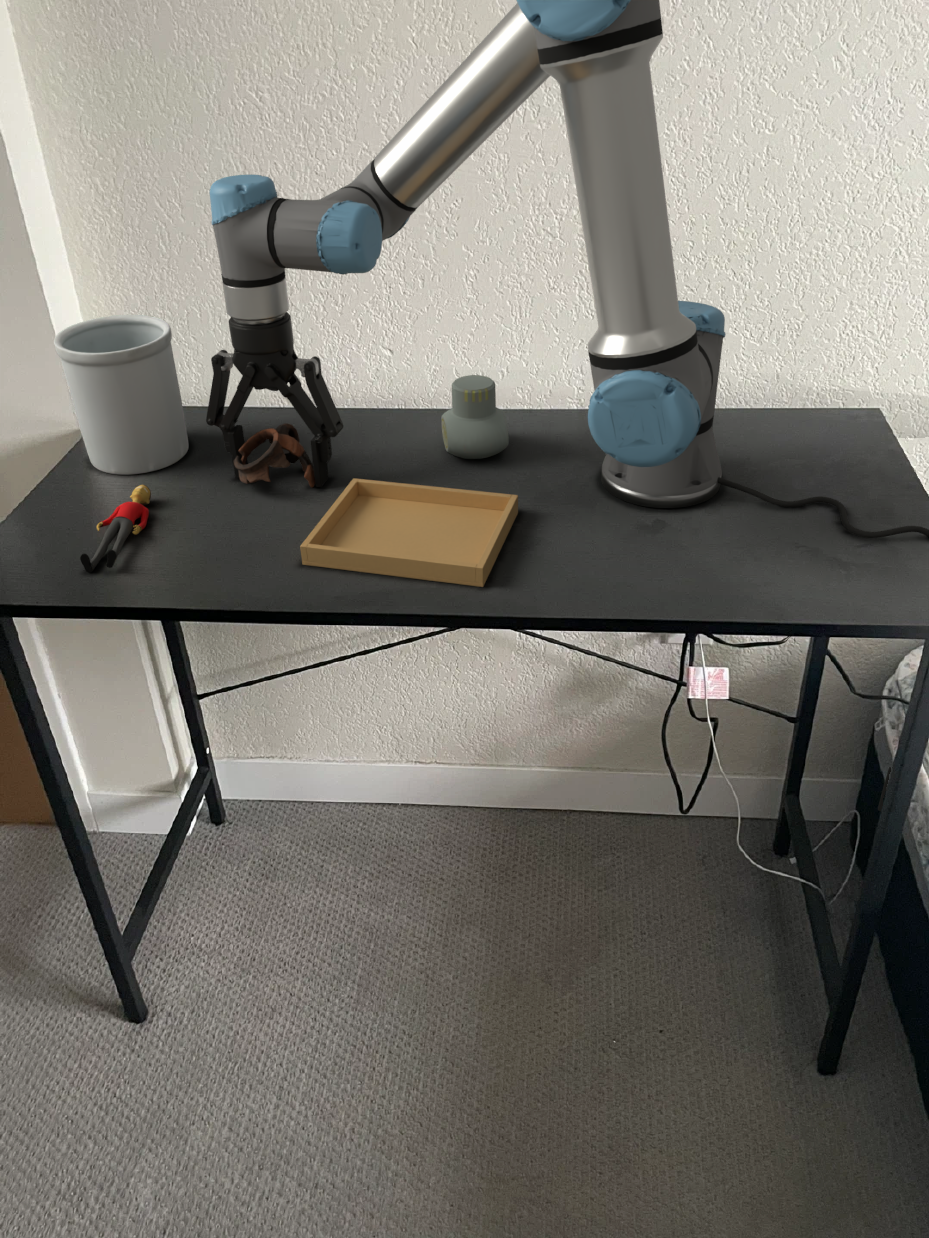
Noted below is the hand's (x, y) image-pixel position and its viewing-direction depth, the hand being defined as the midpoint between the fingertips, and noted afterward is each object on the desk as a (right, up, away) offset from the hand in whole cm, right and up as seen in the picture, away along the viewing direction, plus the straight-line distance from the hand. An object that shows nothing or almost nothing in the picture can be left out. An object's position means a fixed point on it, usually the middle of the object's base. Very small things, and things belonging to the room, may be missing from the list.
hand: (281, 478), depth 136 cm
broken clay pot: (0, 0, 0) cm, 0 cm away
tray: (+18, -9, -14) cm, 25 cm away
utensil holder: (-21, +4, +8) cm, 23 cm away
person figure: (-17, -9, -11) cm, 22 cm away
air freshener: (+26, +4, +6) cm, 27 cm away
